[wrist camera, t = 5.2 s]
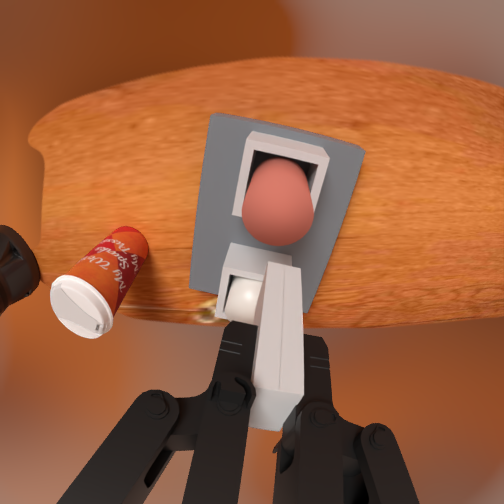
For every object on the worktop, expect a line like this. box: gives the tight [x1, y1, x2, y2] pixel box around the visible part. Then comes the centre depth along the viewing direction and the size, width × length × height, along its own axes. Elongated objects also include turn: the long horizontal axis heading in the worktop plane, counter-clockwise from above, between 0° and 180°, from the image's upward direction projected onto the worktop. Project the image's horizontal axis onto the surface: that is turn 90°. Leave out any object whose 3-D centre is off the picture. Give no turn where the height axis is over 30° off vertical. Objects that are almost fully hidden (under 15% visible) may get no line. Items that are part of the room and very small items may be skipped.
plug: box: [225, 275, 263, 325], centre depth 34 cm, size 5×5×7 cm
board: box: [189, 113, 365, 319], centre depth 33 cm, size 16×22×8 cm
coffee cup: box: [50, 226, 148, 338], centre depth 34 cm, size 8×8×15 cm
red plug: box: [242, 157, 314, 246], centre depth 24 cm, size 5×5×7 cm
